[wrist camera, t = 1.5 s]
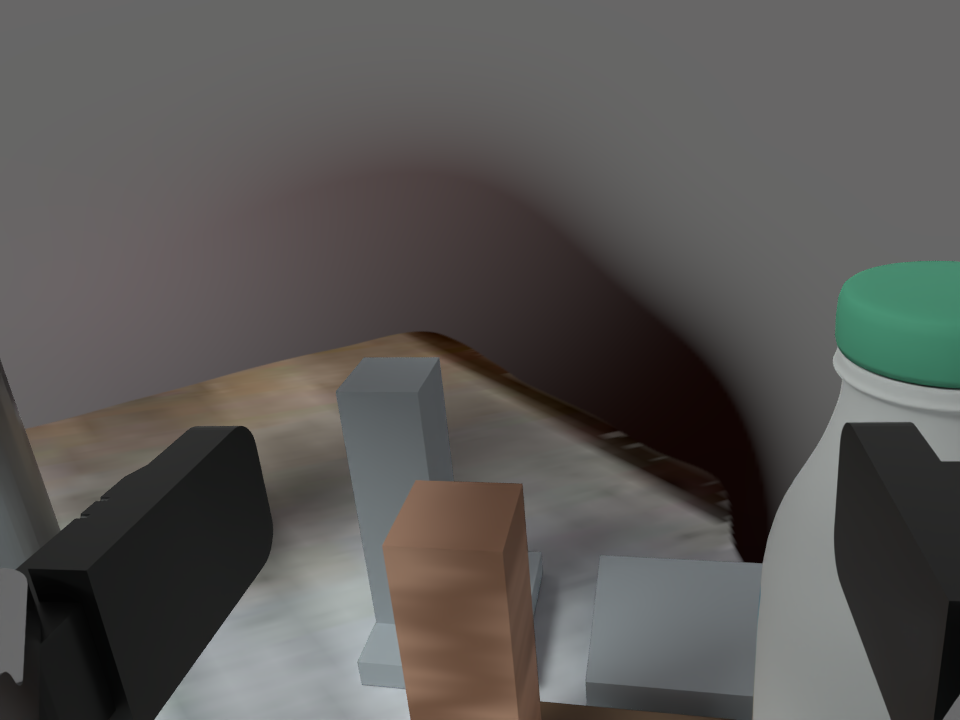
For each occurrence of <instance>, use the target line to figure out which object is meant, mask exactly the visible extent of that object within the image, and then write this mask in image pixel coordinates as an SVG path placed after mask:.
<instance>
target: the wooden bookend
mask: <svg viewBox="0 0 960 720" xmlns="http://www.w3.org/2000/svg"><path fill="white" fill-rule="evenodd" d="M382 548H383V554H384V560H385V566H386V573H387V579H388V585H389V591H390V597H391V603H392V609H393V615H394V621H395V627H396V633H397V639H398V645H399V651H400V657H401V663H402V669H403V675H404V682H405V688H406V694H407V700H408V706H409V712H410V718H411V720H734V719H723V718H712V717H701V716H691V715H680V714H669V713H658V712H648V711H637V710H626V709H615V708H605V707H594V706H583V705H572V704H562V703H551V702H540V696H539V684H538V671H537V659H536V646H535V634H534V622H533V609H532V597H531V584H530V572H529V559H528V547H527V535H526V522H525V510H524V497H523V485H522V484H516V483H485V482H455V481H425V480H415V482H414V484H413V486H412V488H411V490H410V492H409V494H408V496H407V498H406V500H405V502H404V504H403V506H402V508H401V510H400V512H399V514H398V516H397V517H396V519H395V521H394V523H393V525H392V527H391V529H390V531H389V533H388V535H387V537H386V539H385V541H384V543H383V545H382Z"/></svg>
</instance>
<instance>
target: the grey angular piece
mask: <svg viewBox="0 0 960 720" xmlns="http://www.w3.org/2000/svg"><path fill="white" fill-rule="evenodd" d="M336 396H337V402H338V407H339V413H340V419H341V424H342V430H343V436H344V441H345V447H346V453H347V458H348V464H349V470H350V475H351V481H352V487H353V492H354V498H355V504H356V509H357V515H358V521H359V526H360V532H361V538H362V543H363V549H364V555H365V560H366V566H367V572H368V577H369V583H370V589H371V594H372V600H373V606H374V611H375V617H376V623H375V625H374V627H373V629H372V632H371V634H370V636H369V638H368V640H367V642H366V645H365V647H364V649H363V651H362V653H361V655H360V658H359V660H358V667H359V673H360V678H361V683H362V685H372V686H383V687H394V688H405V682H404V675H403V669H402V663H401V657H400V651H399V645H398V639H397V633H396V627H395V621H394V615H393V609H392V603H391V597H390V591H389V585H388V579H387V573H386V566H385V560H384V554H383V548H382V545H383V543H384V541H385V539H386V537H387V535H388V533H389V531H390V529H391V527H392V525H393V523H394V521H395V519H396V517H397V516H398V514H399V512H400V510H401V508H402V506H403V504H404V502H405V500H406V498H407V496H408V494H409V492H410V490H411V488H412V486H413V484H414V482H415V480H425V481H454V478H453V469H452V461H451V452H450V444H449V436H448V427H447V419H446V410H445V402H444V394H443V385H442V377H441V368H440V360H439V358H363V359H362V361H361V362H360V363H359V364H358V365H357V367H356V368H355V369H354V370H353V371H352V373H351V374H350V375H349V376H348V377H347V379H346V380H345V381H344V382H343V383H342V385H341V386H340V387H339V388H338V389H337V391H336ZM528 559H529V572H530V584H531V597H532V609H533V617H534V612H535V607H536V602H537V598H538V593H539V588H540V583H541V579H542V574H543V569H542V555H541V552H531V551H528ZM762 566H763V564H762V563H743V562H724V561H704V560H685V559H666V558H647V557H627V556H608V555H600V559H599V568H598V577H597V586H596V595H595V603H594V612H593V621H592V630H591V639H590V648H589V656H588V665H587V674H586V699H587V706H598V707H609V708H620V709H631V710H641V711H652V712H663V713H674V714H684V715H695V716H706V717H717V718H727V719H738V720H752V718H753V694H754V674H755V655H756V637H757V618H758V606H759V595H760V585H761V575H762ZM405 689H406V688H405Z"/></svg>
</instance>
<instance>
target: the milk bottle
mask: <svg viewBox="0 0 960 720" xmlns="http://www.w3.org/2000/svg"><path fill="white" fill-rule="evenodd" d="M835 337H836V342H837V345H838V346H837V351H836V353H835V354H834V357H833V365H834V368H835V370H836V372H837V373H838V375H839V376H840V377H841V378H842V386H841V392H840V396H839V399H838V402H837V405H836V407H835V410H834V412H833V415H832V417H831V419H830V422H829V424H828V426H827V428H826V430H825V433H824V434H823V436H822V438H821V440H820V442H819V444H818V445H817V447H816V448H815V450H814V451H813V453H812V454H811V456H810V457H809V459H808V460H807V462H806V464H805V465H804V466H803V468H802V469H801V471H800V472H799V473H798V475H797V476H796V478H795V479H794V481H793V483H792V485H791V486H790V488H789V489H788V491H787V493H786V494H785V496H784V498H783V500H782V502H781V504H780V506H779V509H778V511H777V513H776V516H775V519H774V521H773V524H772V527H771V530H770V533H769V536H768V541H767V545H766V550H765V555H764V559H763V566H762V575H761V585H760V595H759V606H758V618H757V637H756V655H755V674H754V694H753V718H752V720H891V719H890V716H889V713H888V711H887V708H886V705H885V703H884V700H883V697H882V694H881V692H880V689H879V686H878V684H877V681H876V678H875V676H874V673H873V670H872V668H871V665H870V662H869V660H868V657H867V654H866V652H865V649H864V646H863V643H862V641H861V638H860V635H859V633H858V630H857V627H856V625H855V622H854V619H853V617H852V614H851V611H850V609H849V606H848V603H847V601H846V598H845V595H844V592H843V590H842V587H841V584H840V581H839V578H838V574H837V569H836V562H835V553H834V523H835V508H836V493H837V479H838V464H839V449H840V438H841V433H842V429H843V426H844V425H845V423H847V422H912V423H914V425H915V426H916V427H917V428H918V430H919V431H920V433H921V434H922V435H923V437H924V438H925V439H926V441H927V442H928V444H929V445H930V446H931V448H932V449H933V451H934V452H935V453H936V455H937V456H938V457H939V459H940V460H941V461H960V262H954V261H917V262H905V263H895V264H888V265H883V266H878V267H874V268H870V269H867V270H865V271H862V272H860V273H858V274H856V275H854V276H853V277H851V278H850V279H848V280H847V281H846V282H845V283H844V285H843V287H842V289H841V292H840V294H839V297H838V305H837V313H836V331H835Z"/></svg>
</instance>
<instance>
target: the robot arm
mask: <svg viewBox="0 0 960 720" xmlns="http://www.w3.org/2000/svg"><path fill="white" fill-rule="evenodd" d="M272 539H273V524H272V517H271V513H270V508H269V503H268V499H267V494H266V489H265V484H264V480H263V475H262V470H261V466H260V461H259V456H258V452H257V447H256V443H255V440H254V437H253V435H252V433H251V432H250V431H249V429H247V428H246V427H244V426H197V427H192V428H190V429H189V430H187V431H186V432H185V433H184V434H183V435H182V436H180V437H179V438H178V439H177V440H176V441H175V442H174V443H172V444H171V445H170V446H169V447H168V448H167V449H165V450H164V451H163V452H162V453H161V454H160V455H158V456H157V457H156V458H155V459H154V460H153V461H152V462H150V463H149V464H148V465H146V466H144V467H142V468H140V469H139V470H137V471H135V472H133V473H131V474H129V475H127V476H125V477H124V478H123V479H121V480H120V481H119V482H118V483H117V484H116V485H114V486H113V487H112V488H111V489H110V490H108V491H107V492H106V493H105V494H104V495H103V496H101V501H96V502H94V503H93V504H92V505H91V506H90V507H88V508H87V509H86V510H85V511H84V512H83V513H81V518H80V519H74V520H73V521H72V522H71V523H70V524H68V525H67V526H66V527H65V528H64V529H63V530H61V531H60V528H59V525H58V522H57V519H56V516H55V514H54V511H53V508H52V505H51V502H50V499H49V496H48V494H47V491H46V488H45V485H44V482H43V479H42V477H41V474H40V471H39V468H38V465H37V462H36V459H35V457H34V454H33V451H32V448H31V445H30V442H29V439H28V437H27V434H26V431H25V428H24V425H23V422H22V420H21V417H20V414H19V411H18V408H17V405H16V403H15V399H14V397H13V394H12V391H11V388H10V385H9V383H8V379H7V377H6V374H5V371H4V368H3V365H2V362H1V360H0V720H154V719H155V718H156V716H157V715H158V714H159V712H160V711H161V709H162V708H163V706H164V705H165V704H166V702H167V701H168V699H169V698H170V697H171V695H172V694H173V692H174V691H175V690H176V688H177V687H178V685H179V684H180V683H181V681H182V680H183V678H184V677H185V676H186V674H187V673H188V671H189V670H190V669H191V667H192V666H193V664H194V663H195V662H196V660H197V659H198V657H199V656H200V655H201V653H202V652H203V650H204V649H205V648H206V646H207V645H208V643H209V642H210V641H211V639H212V638H213V636H214V635H215V634H216V632H217V631H218V629H219V628H220V627H221V625H222V624H223V622H224V621H225V620H226V618H227V617H228V615H229V614H230V613H231V611H232V610H233V608H234V607H235V606H236V604H237V603H238V601H239V600H240V599H241V597H242V596H243V594H244V593H245V592H246V590H247V589H248V587H249V586H250V585H251V583H252V582H253V580H254V579H255V578H256V576H257V575H258V573H259V572H260V571H261V569H262V568H263V566H264V565H265V563H266V561H267V559H268V557H269V554H270V550H271V546H272ZM834 553H835V562H836V569H837V574H838V578H839V581H840V584H841V587H842V590H843V592H844V595H845V598H846V601H847V603H848V606H849V609H850V611H851V614H852V617H853V619H854V622H855V625H856V627H857V630H858V633H859V635H860V638H861V641H862V643H863V646H864V649H865V652H866V654H867V657H868V660H869V662H870V665H871V668H872V670H873V673H874V676H875V678H876V681H877V684H878V686H879V689H880V692H881V694H882V697H883V700H884V703H885V705H886V708H887V711H888V713H889V716H890V719H891V720H960V461H941V460H940V459H939V457H938V456H937V455H936V453H935V452H934V451H933V449H932V448H931V446H930V445H929V444H928V442H927V441H926V439H925V438H924V437H923V435H922V434H921V433H920V431H919V430H918V428H917V427H916V426H915V425H914V423H912V422H847V423H845V425H844V426H843V429H842V433H841V438H840V449H839V464H838V479H837V493H836V508H835V523H834Z"/></svg>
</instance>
